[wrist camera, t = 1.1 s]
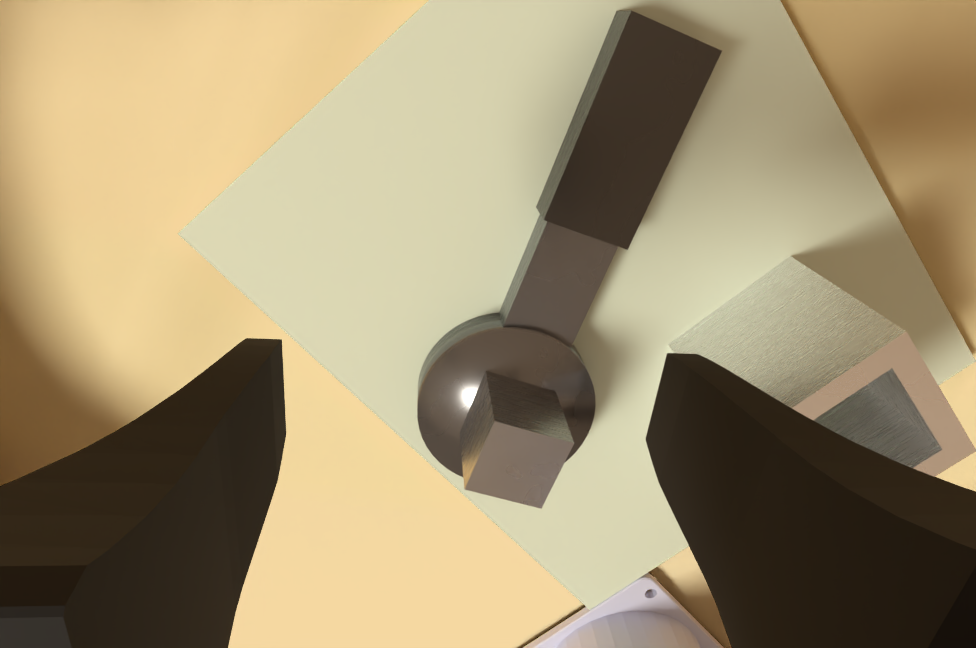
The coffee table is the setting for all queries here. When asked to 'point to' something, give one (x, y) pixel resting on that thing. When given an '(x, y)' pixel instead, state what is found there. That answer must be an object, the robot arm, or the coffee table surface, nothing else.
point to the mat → (512, 217)
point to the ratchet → (562, 273)
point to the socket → (833, 365)
